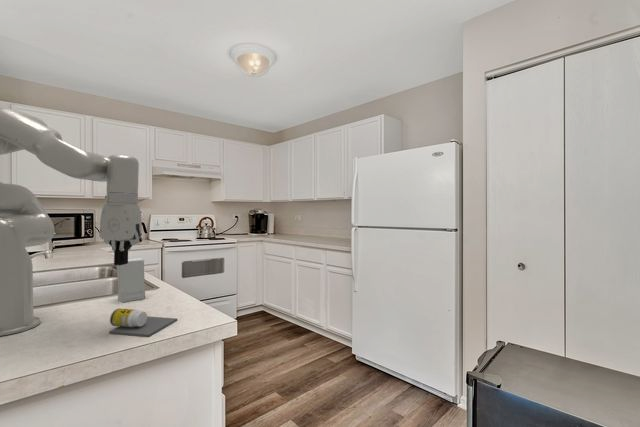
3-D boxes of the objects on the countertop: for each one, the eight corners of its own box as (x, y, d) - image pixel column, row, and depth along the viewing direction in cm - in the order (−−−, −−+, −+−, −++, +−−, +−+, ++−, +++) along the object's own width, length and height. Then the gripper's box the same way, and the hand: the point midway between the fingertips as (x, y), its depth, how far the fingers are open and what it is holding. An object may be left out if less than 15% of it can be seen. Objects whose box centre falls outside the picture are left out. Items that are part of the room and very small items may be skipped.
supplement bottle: (123, 306, 90) (149, 308, 89) (121, 323, 90) (147, 325, 88) (109, 310, 85) (136, 312, 84) (107, 327, 85) (135, 330, 84)
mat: (109, 333, 83) (109, 331, 83) (142, 317, 95) (142, 315, 95) (148, 337, 81) (148, 334, 81) (177, 320, 93) (177, 318, 93)
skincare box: (142, 295, 119) (142, 257, 119) (145, 299, 114) (145, 259, 114) (116, 299, 114) (116, 259, 113) (118, 303, 109) (118, 261, 109)
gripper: (87, 198, 85) (86, 265, 85) (135, 200, 82) (134, 268, 83) (110, 199, 92) (109, 260, 93) (155, 201, 90) (153, 263, 90)
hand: (121, 264), depth 88 cm, fingers closed
